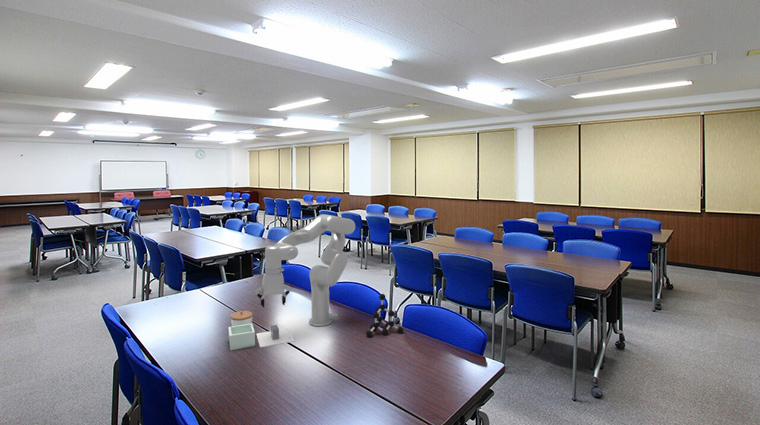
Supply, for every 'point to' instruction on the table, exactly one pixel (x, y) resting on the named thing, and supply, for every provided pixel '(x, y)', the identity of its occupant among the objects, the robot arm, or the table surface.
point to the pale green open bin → (241, 336)
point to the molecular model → (379, 319)
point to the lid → (274, 337)
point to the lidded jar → (241, 318)
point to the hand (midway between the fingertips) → (273, 305)
